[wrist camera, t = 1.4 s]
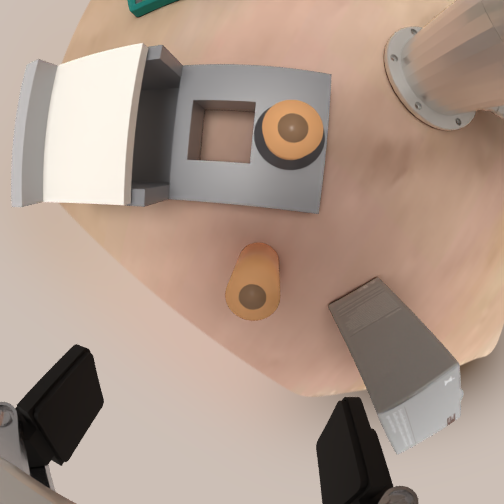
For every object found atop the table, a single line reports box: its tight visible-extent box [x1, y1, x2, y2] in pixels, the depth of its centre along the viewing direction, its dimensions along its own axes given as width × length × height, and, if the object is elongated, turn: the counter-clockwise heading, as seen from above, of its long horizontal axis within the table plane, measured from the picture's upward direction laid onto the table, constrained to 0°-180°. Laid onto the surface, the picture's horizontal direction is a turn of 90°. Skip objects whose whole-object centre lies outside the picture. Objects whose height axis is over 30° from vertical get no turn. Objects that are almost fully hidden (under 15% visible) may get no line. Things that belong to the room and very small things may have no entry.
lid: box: [11, 43, 148, 207], centre depth 15 cm, size 10×12×4 cm
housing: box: [63, 45, 331, 214], centre depth 20 cm, size 24×12×9 cm, turn 84°
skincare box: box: [328, 277, 464, 454], centre depth 21 cm, size 8×7×16 cm
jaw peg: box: [225, 243, 280, 321], centre depth 24 cm, size 4×4×8 cm
